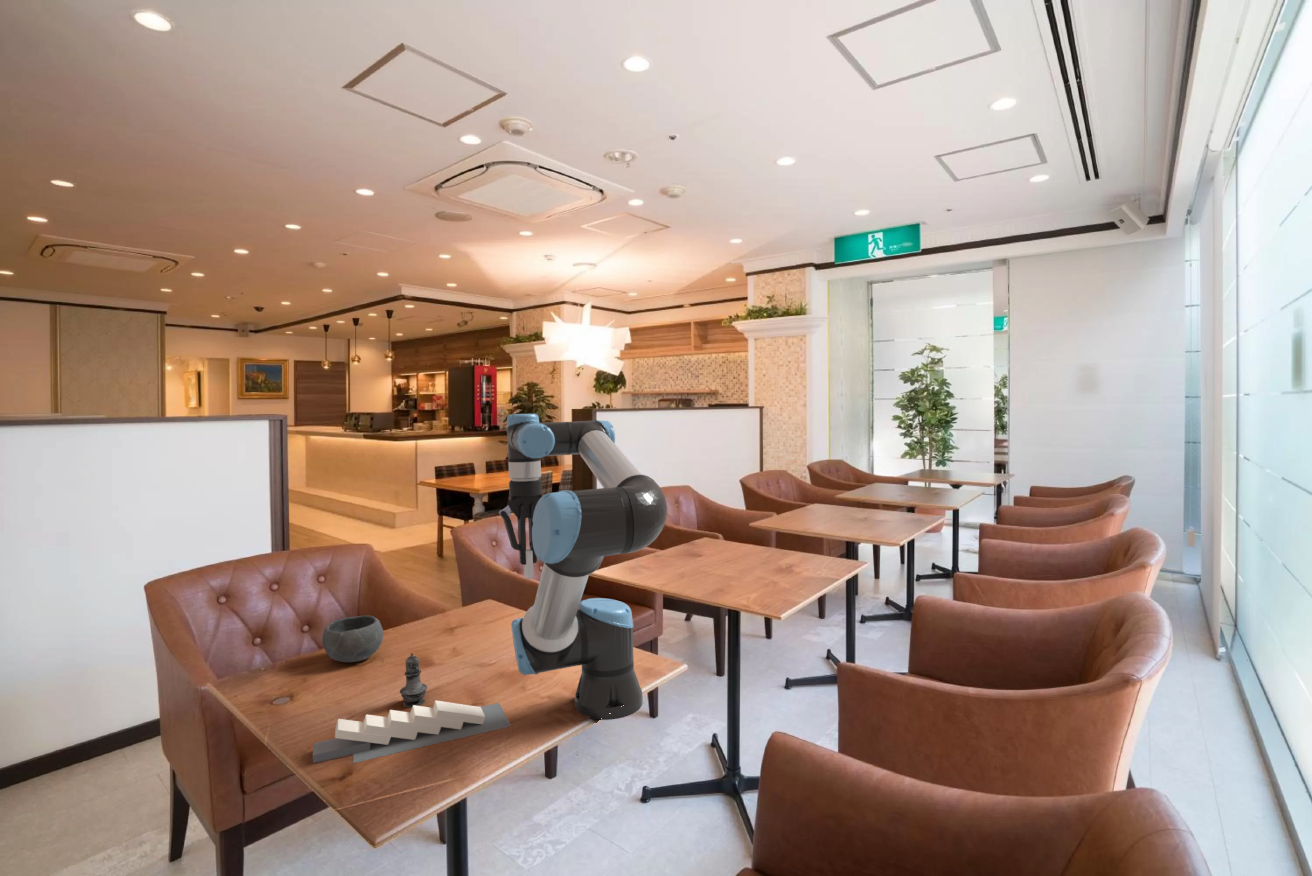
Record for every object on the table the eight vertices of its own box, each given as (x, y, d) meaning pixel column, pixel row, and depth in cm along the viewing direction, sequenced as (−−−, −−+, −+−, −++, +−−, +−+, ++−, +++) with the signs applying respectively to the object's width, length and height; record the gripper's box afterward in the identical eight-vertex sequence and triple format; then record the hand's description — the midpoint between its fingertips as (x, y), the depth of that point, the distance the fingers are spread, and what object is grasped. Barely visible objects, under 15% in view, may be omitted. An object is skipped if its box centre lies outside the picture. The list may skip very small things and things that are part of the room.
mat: (499, 704, 147) (499, 702, 147) (510, 727, 137) (510, 726, 137) (353, 736, 135) (353, 734, 135) (353, 765, 124) (353, 763, 124)
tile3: (438, 716, 138) (390, 709, 134) (441, 727, 134) (391, 720, 130) (435, 724, 138) (387, 717, 134) (438, 734, 134) (388, 728, 130)
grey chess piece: (401, 712, 145) (398, 659, 144) (400, 701, 150) (397, 650, 150) (429, 706, 147) (426, 654, 147) (426, 696, 153) (424, 646, 152)
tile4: (415, 721, 137) (366, 714, 132) (417, 732, 132) (366, 725, 128) (412, 729, 136) (363, 722, 132) (414, 740, 132) (363, 733, 128)
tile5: (389, 725, 134) (338, 718, 130) (390, 736, 130) (338, 729, 126) (386, 733, 134) (335, 726, 130) (388, 744, 130) (335, 738, 126)
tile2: (459, 711, 140) (413, 705, 136) (463, 721, 136) (415, 715, 132) (457, 719, 140) (410, 712, 136) (460, 729, 136) (412, 723, 132)
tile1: (480, 707, 142) (435, 700, 138) (485, 717, 138) (438, 710, 134) (478, 714, 142) (432, 707, 138) (482, 724, 138) (435, 718, 133)
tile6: (369, 731, 133) (314, 743, 129) (369, 742, 128) (312, 755, 124) (369, 738, 133) (314, 751, 129) (370, 750, 128) (313, 763, 124)
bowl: (389, 660, 175) (388, 624, 174) (328, 675, 166) (326, 636, 166) (378, 644, 187) (376, 610, 186) (320, 657, 179) (318, 621, 178)
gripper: (547, 475, 160) (551, 570, 162) (494, 479, 155) (498, 577, 156) (556, 478, 154) (560, 577, 155) (500, 482, 148) (505, 585, 149)
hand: (529, 577), depth 156 cm, fingers closed
